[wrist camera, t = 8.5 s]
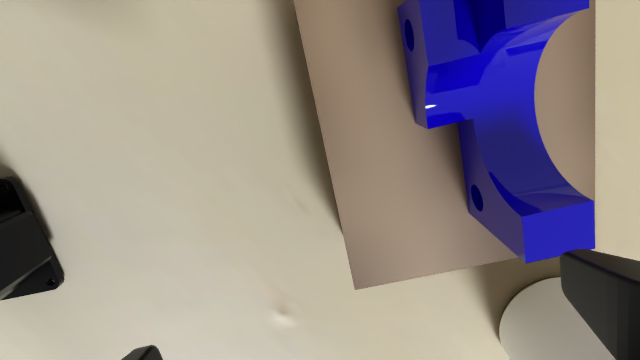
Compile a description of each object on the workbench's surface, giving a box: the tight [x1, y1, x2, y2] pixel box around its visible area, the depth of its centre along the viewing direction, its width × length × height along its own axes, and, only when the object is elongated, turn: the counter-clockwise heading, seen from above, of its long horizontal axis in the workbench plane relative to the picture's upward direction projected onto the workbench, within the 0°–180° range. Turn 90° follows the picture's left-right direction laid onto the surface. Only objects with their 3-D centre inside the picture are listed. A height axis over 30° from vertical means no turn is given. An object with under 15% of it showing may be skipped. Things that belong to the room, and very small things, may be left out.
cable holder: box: [397, 0, 595, 263], centre depth 11 cm, size 8×4×4 cm, turn 13°
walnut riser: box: [293, 0, 595, 290], centre depth 16 cm, size 10×12×5 cm
